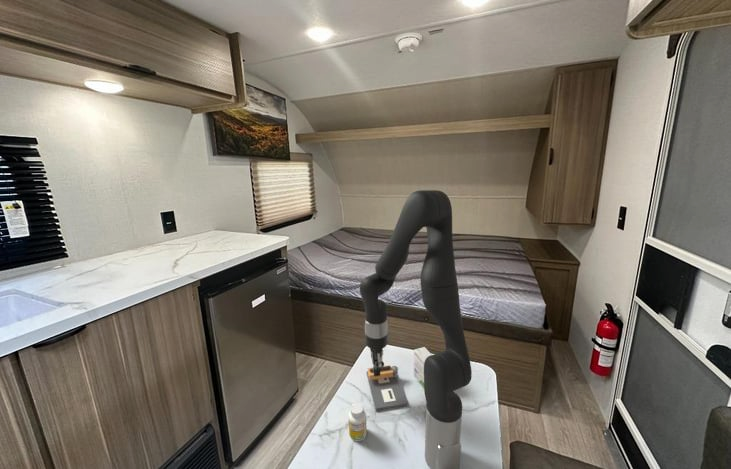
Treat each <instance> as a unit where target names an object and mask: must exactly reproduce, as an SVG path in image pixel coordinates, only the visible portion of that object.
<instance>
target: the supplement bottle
mask: <svg viewBox="0 0 731 469" xmlns="http://www.w3.org/2000/svg"><path fill="white" fill-rule="evenodd" d="M347 417H348V418H347V419H348V430H349V432H348V434H349V438H350V439H351V440H353V441H354V442H362V441H363V440H365V439H366V437H367V430H368V428H367V413H366V411H365V410H364V405H363V404H362V403H360V402H355V403H352V405H350V411H349V413H348V416H347Z"/></svg>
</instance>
